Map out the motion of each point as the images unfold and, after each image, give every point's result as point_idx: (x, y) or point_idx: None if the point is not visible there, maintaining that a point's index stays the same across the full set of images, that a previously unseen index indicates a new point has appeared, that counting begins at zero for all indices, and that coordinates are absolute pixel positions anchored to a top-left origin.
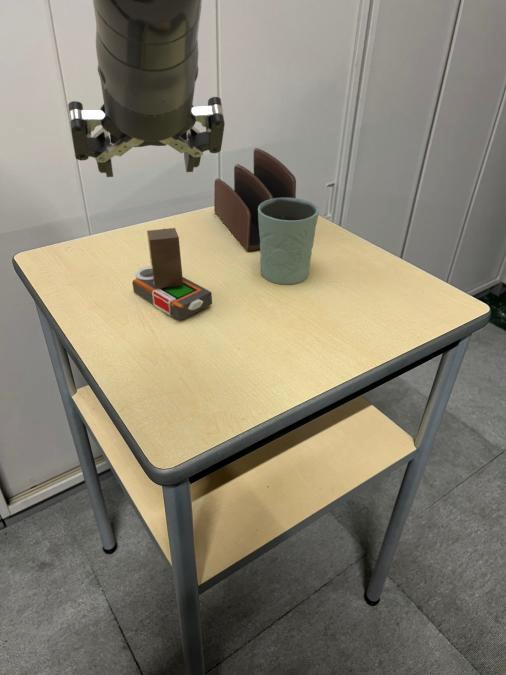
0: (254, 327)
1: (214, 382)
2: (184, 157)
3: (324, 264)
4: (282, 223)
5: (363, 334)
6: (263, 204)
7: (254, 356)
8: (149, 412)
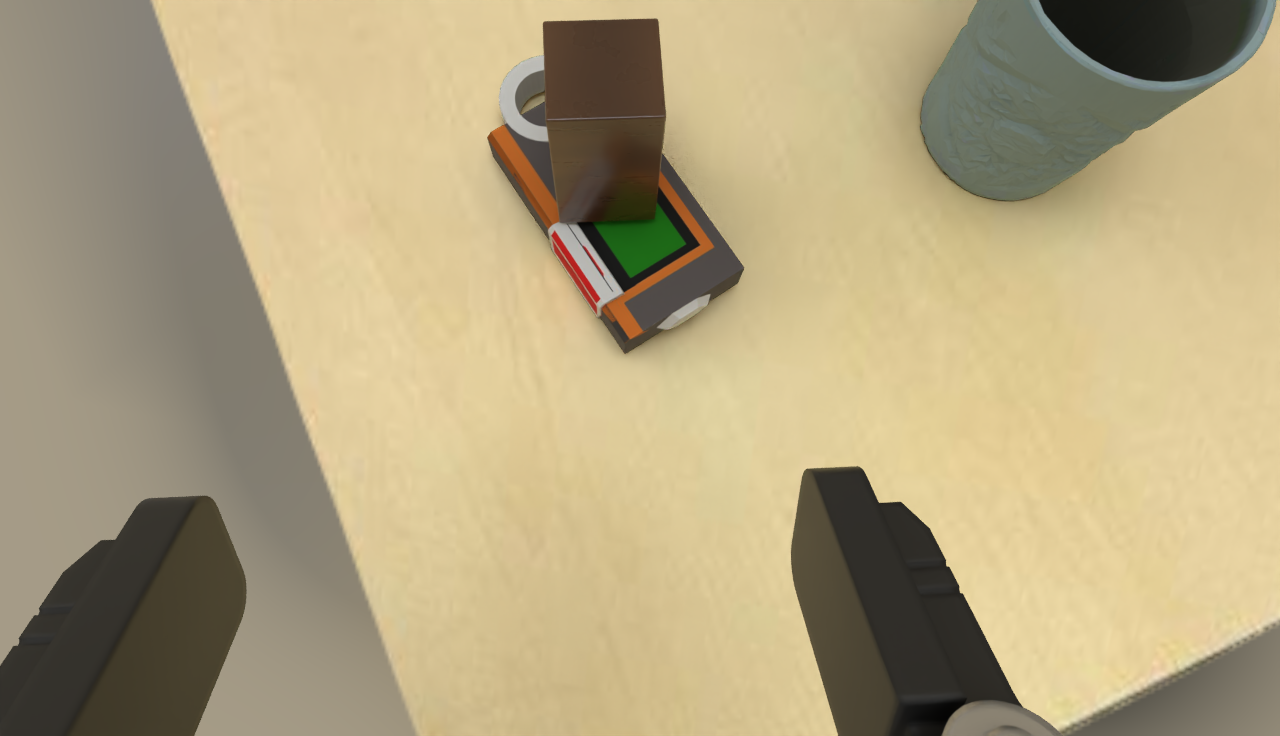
0: (851, 416)
1: (697, 664)
2: (807, 489)
3: None
4: (1102, 83)
5: (1176, 510)
6: None
7: None
8: None
